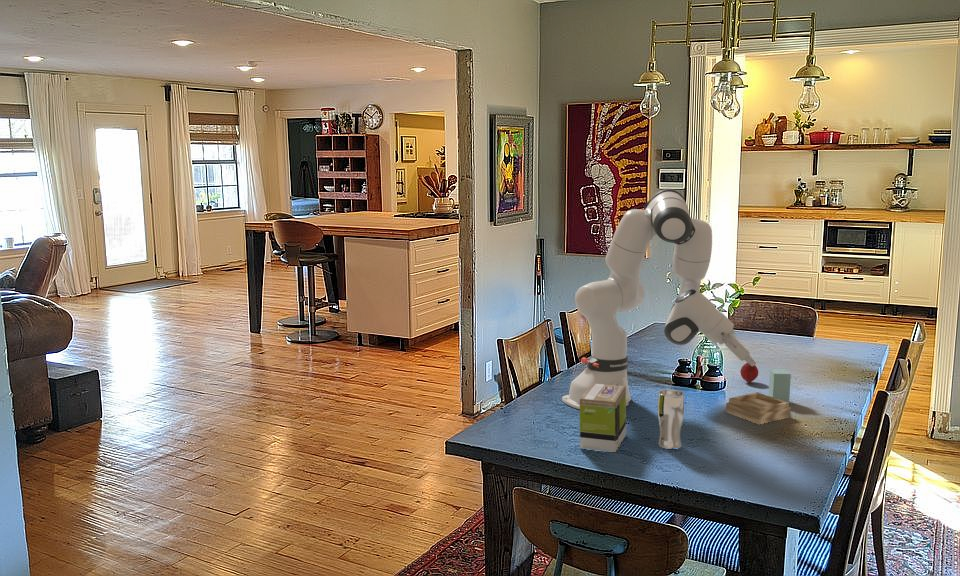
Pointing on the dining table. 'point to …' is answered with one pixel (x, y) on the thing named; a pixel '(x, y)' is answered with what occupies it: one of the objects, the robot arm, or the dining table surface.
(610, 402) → the tea box
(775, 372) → the block
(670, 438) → the beer glass
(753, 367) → the onion
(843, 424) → the dining table surface
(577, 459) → the dining table surface
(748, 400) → the tray
